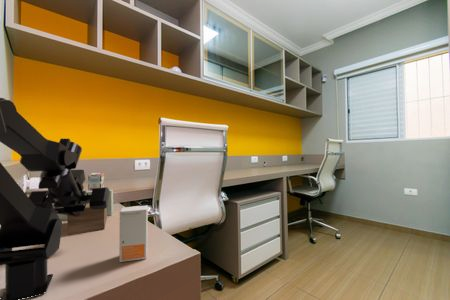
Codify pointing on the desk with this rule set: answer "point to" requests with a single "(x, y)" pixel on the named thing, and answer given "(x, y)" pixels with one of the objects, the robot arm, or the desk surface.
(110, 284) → the desk surface
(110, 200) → the sage board
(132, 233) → the skincare box
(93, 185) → the candy bar box
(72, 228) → the walnut block
